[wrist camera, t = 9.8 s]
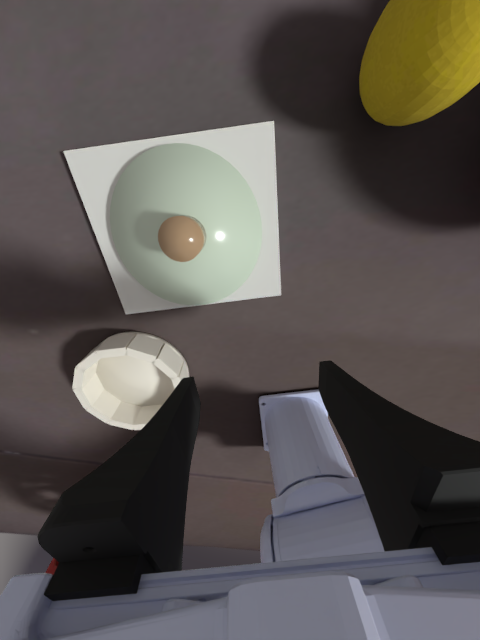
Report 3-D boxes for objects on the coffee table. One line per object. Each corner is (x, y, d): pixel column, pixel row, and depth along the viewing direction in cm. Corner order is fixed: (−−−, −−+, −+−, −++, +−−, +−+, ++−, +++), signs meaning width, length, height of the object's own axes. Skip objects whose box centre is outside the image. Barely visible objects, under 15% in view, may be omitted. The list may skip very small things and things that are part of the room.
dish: (197, 401, 26) (193, 423, 23) (113, 411, 26) (99, 434, 23) (176, 325, 21) (168, 342, 19) (74, 338, 22) (52, 356, 19)
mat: (279, 292, 20) (281, 295, 20) (128, 311, 21) (125, 314, 20) (272, 124, 15) (273, 120, 14) (69, 153, 15) (63, 151, 15)
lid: (261, 300, 20) (265, 314, 17) (134, 305, 20) (117, 321, 17) (261, 142, 15) (268, 125, 12) (93, 149, 15) (58, 134, 12)
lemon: (319, 112, 15) (403, 20, 8) (376, -1, 13) (566, -276, 6) (382, 159, 16) (503, 117, 9) (443, 63, 14) (669, -95, 7)
